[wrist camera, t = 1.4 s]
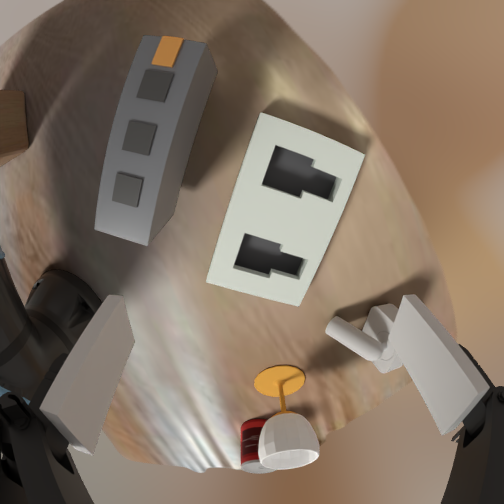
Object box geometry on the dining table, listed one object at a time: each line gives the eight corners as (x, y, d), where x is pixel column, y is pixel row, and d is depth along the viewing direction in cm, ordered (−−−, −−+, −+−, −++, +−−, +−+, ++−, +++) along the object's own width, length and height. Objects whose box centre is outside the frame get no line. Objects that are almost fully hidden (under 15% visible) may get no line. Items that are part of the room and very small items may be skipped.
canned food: (263, 436, 53) (265, 475, 43) (233, 428, 51) (233, 470, 41) (283, 422, 51) (288, 464, 41) (252, 414, 49) (254, 459, 39)
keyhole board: (208, 270, 35) (205, 282, 32) (259, 114, 27) (260, 112, 25) (295, 294, 37) (298, 306, 34) (354, 152, 29) (365, 154, 26)
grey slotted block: (139, 198, 30) (92, 230, 19) (177, 66, 24) (142, 33, 13) (178, 209, 31) (146, 247, 20) (219, 75, 25) (206, 42, 14)
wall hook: (328, 301, 37) (368, 347, 28) (381, 293, 40) (421, 330, 31) (316, 343, 40) (346, 390, 31) (366, 332, 43) (399, 370, 34)
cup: (312, 366, 43) (332, 446, 28) (295, 397, 46) (307, 469, 32) (261, 362, 42) (267, 448, 27) (249, 393, 45) (251, 469, 31)
